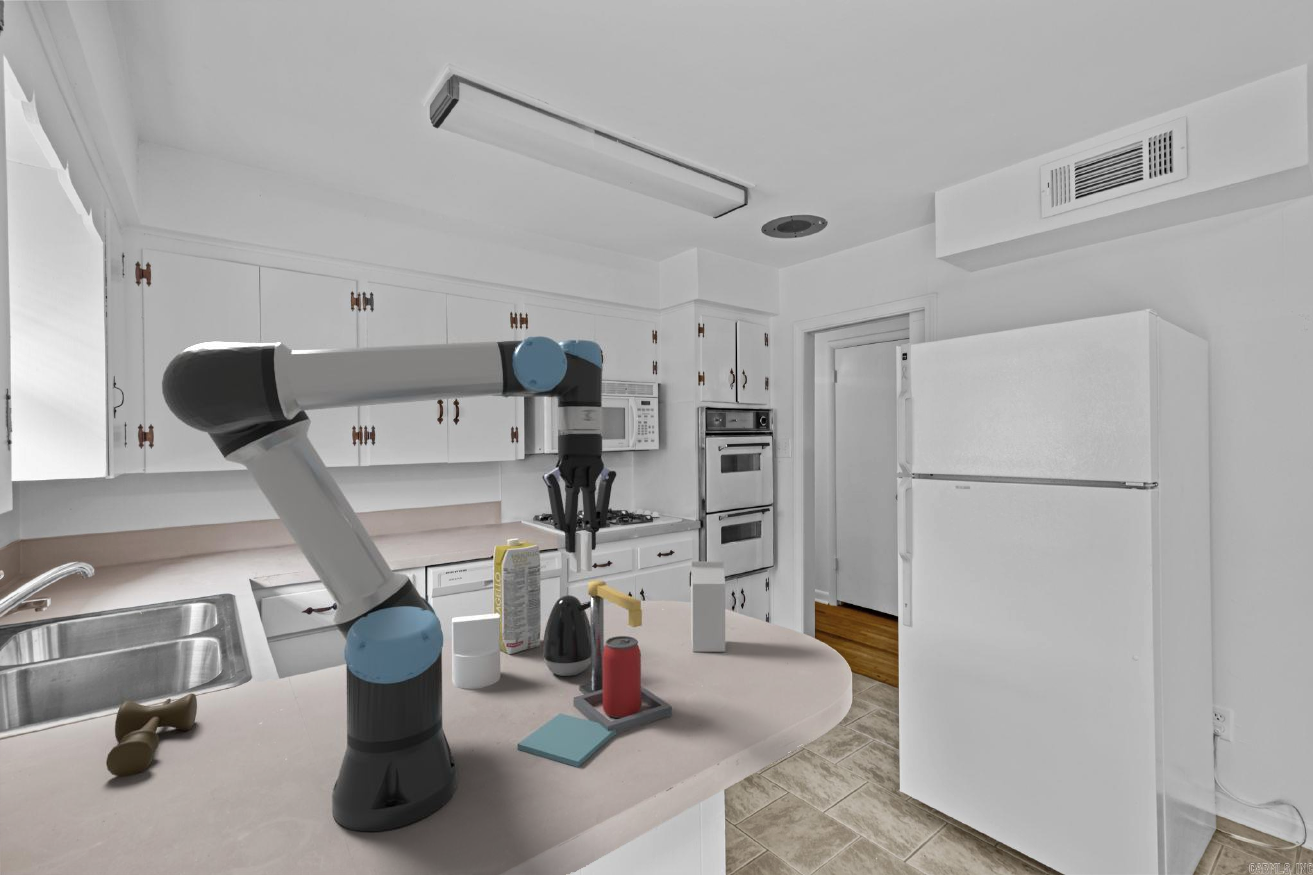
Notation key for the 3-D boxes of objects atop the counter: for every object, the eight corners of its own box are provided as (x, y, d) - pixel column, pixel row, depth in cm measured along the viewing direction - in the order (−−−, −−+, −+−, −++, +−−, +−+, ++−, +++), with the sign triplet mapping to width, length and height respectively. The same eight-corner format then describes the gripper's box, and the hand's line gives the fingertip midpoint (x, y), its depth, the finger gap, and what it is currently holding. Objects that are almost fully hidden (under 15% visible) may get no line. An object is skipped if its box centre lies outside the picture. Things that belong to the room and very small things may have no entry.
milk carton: (725, 652, 130) (725, 565, 130) (692, 652, 131) (692, 565, 130) (722, 640, 138) (722, 558, 137) (691, 640, 138) (690, 558, 137)
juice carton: (526, 637, 140) (526, 534, 140) (545, 646, 134) (544, 539, 134) (489, 647, 134) (488, 540, 133) (507, 657, 128) (506, 545, 128)
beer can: (648, 707, 105) (648, 639, 104) (626, 723, 99) (626, 651, 99) (617, 698, 108) (617, 632, 108) (594, 713, 103) (594, 643, 102)
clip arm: (645, 624, 100) (645, 599, 100) (629, 628, 98) (629, 602, 98) (600, 601, 113) (600, 579, 113) (585, 604, 111) (585, 582, 111)
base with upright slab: (498, 667, 123) (498, 608, 123) (502, 685, 114) (501, 622, 114) (452, 673, 120) (451, 613, 120) (452, 691, 111) (451, 627, 111)
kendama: (82, 790, 82) (133, 722, 100) (170, 774, 86) (204, 711, 104) (82, 746, 82) (133, 686, 100) (171, 733, 86) (204, 677, 104)
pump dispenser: (585, 683, 115) (585, 604, 114) (534, 679, 117) (534, 601, 116) (601, 663, 125) (600, 590, 124) (553, 659, 127) (553, 587, 126)
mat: (578, 767, 86) (578, 761, 86) (517, 749, 91) (517, 743, 91) (616, 732, 96) (616, 727, 96) (560, 717, 101) (560, 713, 101)
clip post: (615, 693, 110) (615, 596, 110) (591, 699, 108) (591, 601, 107) (602, 683, 115) (602, 590, 114) (579, 689, 112) (578, 594, 112)
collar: (672, 715, 102) (672, 706, 102) (607, 735, 95) (607, 726, 95) (633, 688, 112) (633, 680, 112) (573, 705, 105) (573, 697, 105)
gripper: (549, 432, 95) (550, 580, 96) (627, 432, 103) (628, 568, 104) (531, 432, 102) (532, 571, 102) (606, 432, 110) (607, 561, 110)
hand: (580, 569), depth 103 cm, fingers closed
